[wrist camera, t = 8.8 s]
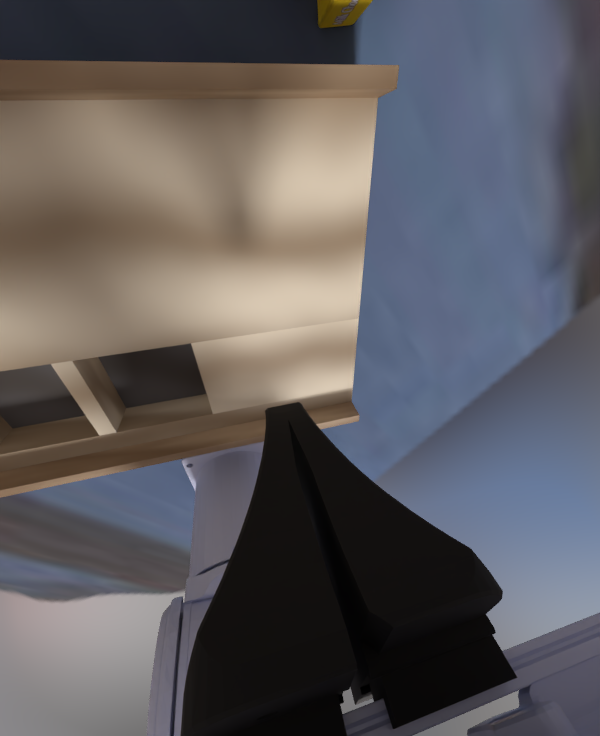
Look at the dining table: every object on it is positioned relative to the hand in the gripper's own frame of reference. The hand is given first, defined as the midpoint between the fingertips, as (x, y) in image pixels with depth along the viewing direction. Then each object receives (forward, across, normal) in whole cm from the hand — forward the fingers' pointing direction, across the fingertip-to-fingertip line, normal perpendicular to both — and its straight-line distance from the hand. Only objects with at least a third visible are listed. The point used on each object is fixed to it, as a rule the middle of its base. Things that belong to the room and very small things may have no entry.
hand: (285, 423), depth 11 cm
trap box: (+9, +9, -2) cm, 13 cm away
